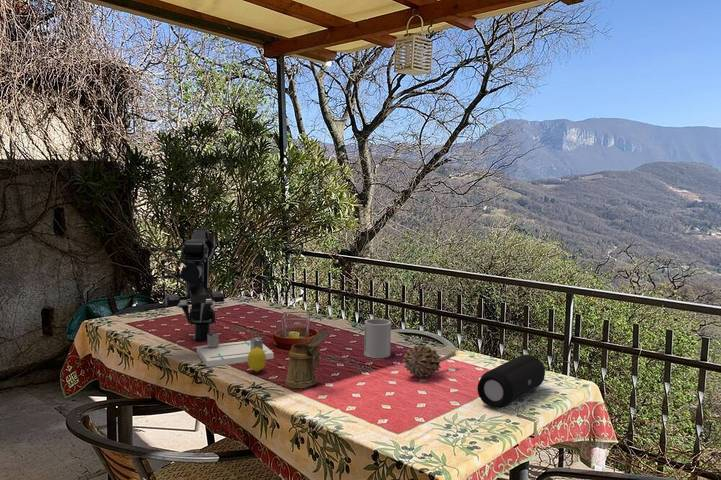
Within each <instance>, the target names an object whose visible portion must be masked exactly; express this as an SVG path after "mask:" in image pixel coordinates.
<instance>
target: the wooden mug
mask: <svg viewBox="0 0 721 480" xmlns="http://www.w3.org/2000/svg"><path fill="white" fill-rule="evenodd" d="M327 336H328V329H327V328H326V327H325V328H323V329H321V330H320V331H318V332H317V333H316V334H315V335H313V337H312V338H311V340H310V342H309V344H308V343H304V342H303V343H301V342H300V343H295V344H292V345H291V348H290V351H289V360H288V361H289V362H288V369H287V375H286V377H285V386H287V387H289V388H292V389H308V388H312V387H314V386H315V385H317V383H318V381H317V380H318V379H317V378H318V377H317V375H316V369H317V368H318V366H319V363H320V361H321V353H320V348H319V345H320V344H322V342H324V340H325V338H326V337H327Z"/></svg>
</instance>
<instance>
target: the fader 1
mask: <svg viewBox="0 0 721 480" xmlns="http://www.w3.org/2000/svg"><path fill="white" fill-rule="evenodd" d="M219 339H220V338H219V334H218V332H210V334H207V341H206V343H207V345H208V346H209V347H210V348H214V347H219V344H220V341H219Z"/></svg>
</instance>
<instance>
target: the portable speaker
mask: <svg viewBox="0 0 721 480" xmlns="http://www.w3.org/2000/svg"><path fill="white" fill-rule="evenodd" d="M545 376H546V369H545V366H544V363H543V362H542V361H541V360H540V359H539V358H538V357H536V356H534V355H531V354H520V355H518V356H516V357H514V358H513V359H511V360H508V361H507V362H504V363H502V364H500V365H498V366H496V367H494V368H492V369H490V370H488V371H486V372H484V373H483V374H482V375H481V376H480V378H479V381H478V383H477V393H478V397H479V398H480V401H482V403H484V404H485V405H486V406H488V407H490V408H495V409H503V408H502V407H504V408H506V407H508V406H509V405H510V404H513V402H515V401H517V400H518V399H520V398H521V397H523V396H525V395H526V394H528V393H530V392H531V391H533V390H534V389H536V388H538V387H539V386H541V385H542V384H543V382H544V380H545Z"/></svg>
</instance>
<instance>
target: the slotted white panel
mask: <svg viewBox="0 0 721 480" xmlns="http://www.w3.org/2000/svg"><path fill="white" fill-rule="evenodd" d="M250 351H251V340H242V341H235V342H227V343H226V342H225V343H219V347H214V348H210V347H209V346H208V344H206V345H200V346H199V345H198V346H196V354H197V355H198V356H199V358H200V359H201V360H202V362H203V363H204V365H205V366H206V368H211V367H218V366H220V367H221V366H225V365H226V366H228V365H234V364H235V365H236V364H241V363H248V355H249V353H250ZM263 351H264V353H265V356H266V361H267V360H273V359H274V358H275V355H274V354H275V353H274V352H273V351H272V350H271V349H270V348H269V347H267V346H266V345H265V344H264V343H263Z"/></svg>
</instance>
